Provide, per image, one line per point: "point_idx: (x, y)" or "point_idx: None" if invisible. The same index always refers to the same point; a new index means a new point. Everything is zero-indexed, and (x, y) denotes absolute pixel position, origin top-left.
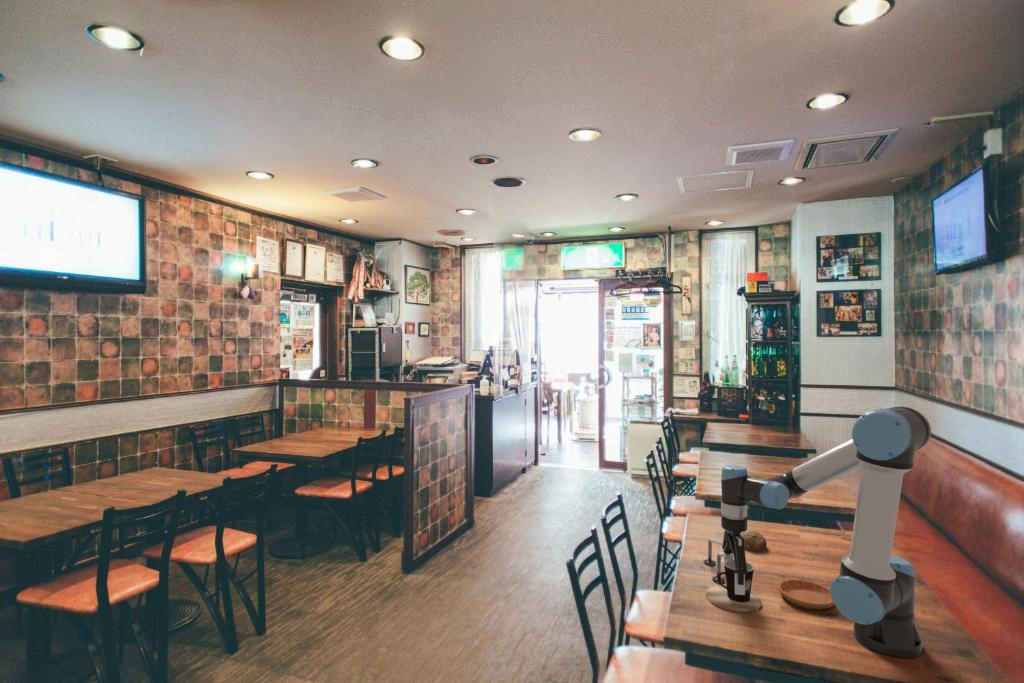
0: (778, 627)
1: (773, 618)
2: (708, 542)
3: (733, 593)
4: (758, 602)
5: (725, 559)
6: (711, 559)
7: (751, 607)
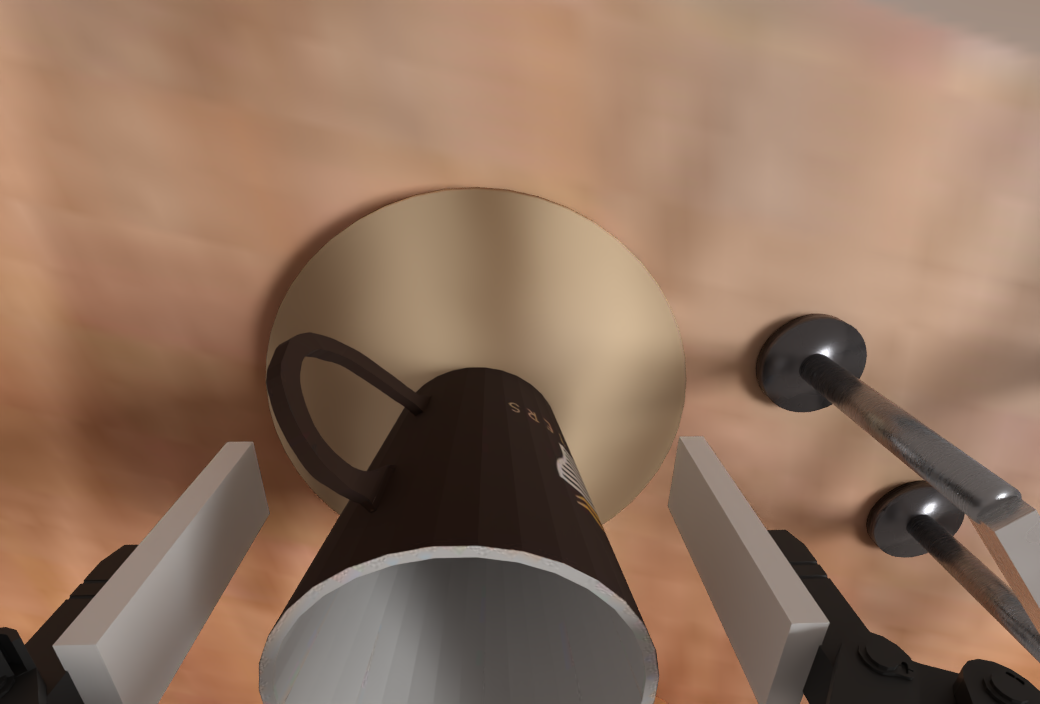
0: None
1: (268, 562)
2: None
3: (395, 424)
4: None
5: (753, 572)
6: None
7: None
